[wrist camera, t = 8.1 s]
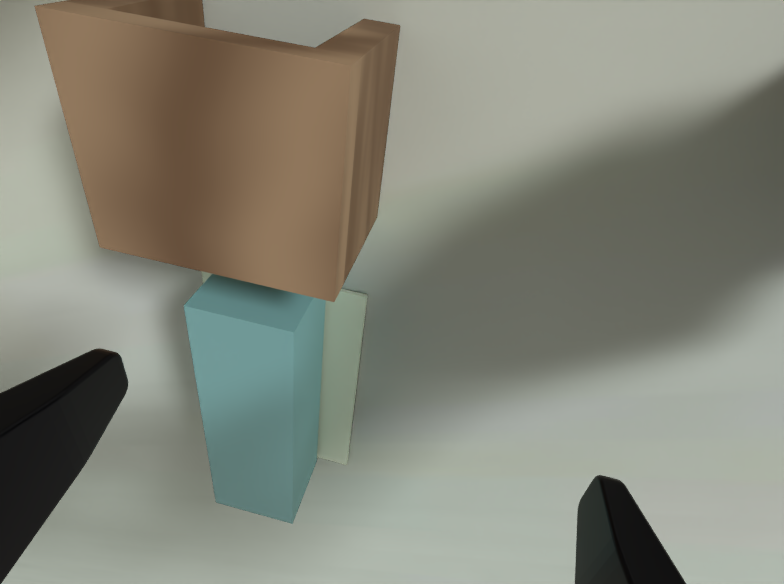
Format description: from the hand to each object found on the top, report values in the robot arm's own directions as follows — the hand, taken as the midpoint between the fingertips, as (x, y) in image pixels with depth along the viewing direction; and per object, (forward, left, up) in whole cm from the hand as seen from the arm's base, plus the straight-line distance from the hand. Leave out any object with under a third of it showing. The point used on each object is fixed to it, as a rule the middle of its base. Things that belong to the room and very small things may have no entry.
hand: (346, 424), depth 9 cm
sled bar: (+6, +12, -12) cm, 18 cm away
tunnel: (+6, -1, -12) cm, 13 cm away
